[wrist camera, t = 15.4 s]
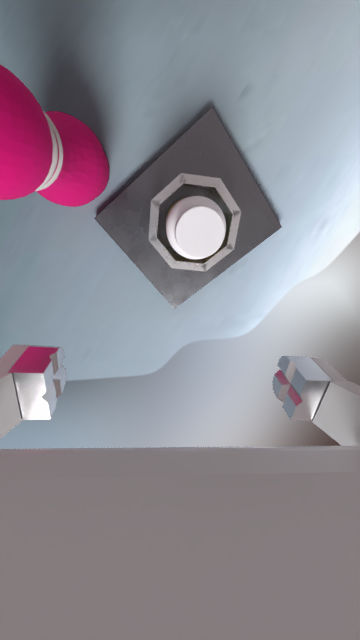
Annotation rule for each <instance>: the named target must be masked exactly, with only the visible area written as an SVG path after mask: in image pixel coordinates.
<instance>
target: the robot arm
mask: <svg viewBox="0 0 360 640" xmlns="http://www.w3.org/2000/svg"><path fill="white" fill-rule="evenodd" d="M64 358H65V357H64V350H63V348H62V347H53V346H36V345H13V346H12V347H11V348H10V349H9V350H8V351H7V352H6V353H5V354H4V355H3V357H2V358H1V359H0V438H1V437H2V436H4V435H5V434H6V433H8V432H9V431H10V430H11V429H13V428H14V427H15V426H16V425H18V424H19V423H20V422H21V421H22V420H28V419H29V420H33V419H50V418H51V416H52V414H53V412H54V410H55V408H56V406H57V397H59V396H60V395H61V394H62V392H63V390H64V387H65V382H66V368H65V367H64V366H63V365H62V364H61V363H62V362H63V360H64ZM278 367H279V369H280V370H279V371H278V372H277V373H275V375H274V378H273V390H274V393H275V395H276V397H277V398H278V399H279V400H281V401H282V402H284V403H283V408H284V410H285V412H286V413H287V415H288V417H289V418H290V420H296V421H313V423H314V424H316V425H317V426H318V427H319V428H321V429H322V430H323V431H324V432H325V433H327V434H328V435H329V436H330V437H332V438H333V439H334V440H336V441H337V442H338V443H339V444H340V445H342V446H263V447H262V446H259V447H168V448H167V447H163V448H53V449H0V640H360V386H359V385H357V384H355V383H353V382H347V381H346V380H345V379H344V378H343V377H342V376H341V375H340V374H339V373H338V372H337V371H336V370H335V369H334V368H333V367H332V366H330V364H328V363H327V362H326V361H325V360H324V359H323V358H321V357H319V356H282V357H281V358H280V359H279V362H278Z"/></svg>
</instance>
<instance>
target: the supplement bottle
mask: <svg viewBox="0 0 360 640" xmlns="http://www.w3.org/2000/svg"><path fill="white" fill-rule="evenodd" d="M166 233H167V238H168V240H169V242H170V244H171V246H172V247H173V249H174V250H175V251H176V252H177V253H178V254H180V255H181V256H183V257H186V258H189V259H202V258H206V257H208V256H210V255H212V254H214V253H215V252H216V251H217V250H218V249H219V248H220V246H221V244H222V243H223V240H224V237H225V233H226V221H225V217H224V214H223V212H222V210H221V208H220V207H219V206H218V205H217V204H216V203H215V202H214V201H212V200H211V199H209V198H206V197H203V196H191V197H185V198H182V199H180V200H178V201H177V202H175V203H174V204H173V205H172V206H171V208H170V209H169V211H168V214H167V217H166Z"/></svg>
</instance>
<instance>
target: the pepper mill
mask: <svg viewBox="0 0 360 640" xmlns="http://www.w3.org/2000/svg"><path fill="white" fill-rule="evenodd" d="M108 180H109V164H108V160H107V157H106V155H105V153H104V150H103V148H102V146H101V144H100V142H99V140H98V138H97V137H96V135H95V134H94V133H93V131H92V130H91V129H90V128H89V127H88V126H87V125H85V124H84V123H83V122H81V121H80V120H78V119H77V118H75V117H73V116H71V115H69V114H66V113H62V112H58V111H48V112H44V111H43V110H42V109H41V106H40V105H39V103H38V102H37V100H36V99H35V97H34V96H33V94H32V93H31V92H30V91H29V89H28V88H27V87H26V86H25V85H24V84H23V83H22V82H21V81H20V80H19V79H18V78H17V77H16V76H15V75H14V74H13V73H11V72H10V71H9V70H8V69H6V68H5V67H3V66H2V65H0V200H9V199H16V198H20V197H24V196H26V195H28V194H30V193H32V192H34V191H36V192H38V193H39V194H40V195H42V196H43V197H44V198H46V199H47V200H49V201H51V202H54V203H56V204H60V205H64V206H73V207H76V206H82V205H84V204H87V203H89V202H90V201H92V200H94V199H95V198H96V197H98V196H99V195H100V194H101V193H102V192H103V191H104V190H105V188H106V186H107V183H108Z"/></svg>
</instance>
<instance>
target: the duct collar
mask: <svg viewBox="0 0 360 640" xmlns="http://www.w3.org/2000/svg"><path fill="white" fill-rule="evenodd" d="M191 196H203V197H206V198H209V199H211V200H212V201H214V202H215V203H216V204H217V205H218V206H219V207H220V208H221V210H222V212H223V214H224V217H225V221H226V233H225V237H224V240H223V243H222V244H221V246H220V248H219V249H218V250H217V251H216V252H215V253H214V254H212V255H210V256H208V257H206V258H202V259H189V258H186V257H183V256H181V255H180V254H178V253H177V252H176V251H175V250H174V249H173V247H172V246H171V244H170V242H169V240H168V238H167V233H166V217H167V214H168V211H169V209H170V208H171V206H172V205H173V204H174V203H175V202H177V201H178V200H180V199H182V198H185V197H191ZM94 219H95V220H96V221H97V222H98V223H99V224H100V225H101V226H102V228H103V229H104V230H105V231H106V232H107V233H108V234H109V235H110V237H111V238H112V239H113V240H114V241H115V242H116V243H117V245H118V246H119V247H120V248H121V249H122V250H123V251H124V252H125V254H126V255H127V256H128V257H129V258H130V259H131V260H132V261H133V263H134V264H135V265H136V266H137V267H138V268H139V269H140V270H141V272H142V273H143V274H144V275H145V276H146V277H147V278H148V280H149V281H150V282H151V283H152V284H153V285H154V286H155V287H156V289H157V290H158V291H159V292H160V293H161V294H162V295H163V296H164V298H165V299H166V300H167V301H168V302H169V303H170V304H171V306H172V307H173V308H174V309H175V308H176V307H178V306H179V305H180V304H181V303H183V302H184V301H185V300H187V299H188V298H189V297H191V296H192V295H193V294H195V293H196V292H197V291H199V290H200V289H201V288H202V287H204V286H205V285H206V284H208V283H209V282H210V281H212V280H213V279H214V278H216V277H217V276H218V275H220V274H221V273H222V272H223V271H225V270H226V269H227V268H229V267H230V266H231V265H233V264H234V263H235V262H237V261H238V260H239V259H241V258H242V257H243V256H244V255H246V254H247V253H248V252H250V251H251V250H252V249H254V248H255V247H256V246H258V245H259V244H260V243H261V242H263V241H264V240H265V239H267V238H268V237H269V236H271V235H272V234H273V233H275V232H276V231H277V230H279V229H280V228H281V225H280V223H279V221H278V220H277V218H276V216H275V214H274V213H273V211H272V209H271V208H270V206H269V204H268V202H267V201H266V199H265V197H264V195H263V194H262V192H261V190H260V189H259V187H258V185H257V183H256V182H255V180H254V178H253V177H252V175H251V173H250V171H249V170H248V168H247V166H246V164H245V163H244V161H243V159H242V158H241V156H240V154H239V152H238V151H237V149H236V147H235V145H234V144H233V142H232V140H231V139H230V137H229V135H228V133H227V132H226V130H225V128H224V126H223V125H222V123H221V121H220V120H219V118H218V116H217V114H216V113H215V111H214V109H213V108H211V109H209V110H208V111H207V112H206V113H205V114H204V115H203V116H202V117H201V118H200V119H199V120H198V121H197V122H196V123H195V124H194V125H193V126H192V127H190V128H189V129H188V130H187V131H186V132H185V133H184V134H183V135H182V136H181V137H180V138H179V139H178V140H177V141H176V142H175V143H174V144H172V145H171V146H170V147H169V148H168V149H167V150H166V151H165V152H164V153H163V154H162V155H161V156H160V157H159V158H158V159H157V160H156V161H155V162H153V163H152V164H151V165H150V166H149V167H148V168H147V169H146V170H145V171H144V172H143V173H142V174H141V175H140V176H139V177H138V178H137V179H135V180H134V181H133V182H132V183H131V184H130V185H129V186H128V187H127V188H126V189H125V190H124V191H123V192H122V193H121V194H120V195H119V196H118V197H116V198H115V199H114V200H113V201H112V202H111V203H110V204H109V205H108V206H107V207H106V208H105V209H104V210H103V211H102V212H101V213H100V214H98V215H97V216H96V217H95V218H94Z"/></svg>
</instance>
